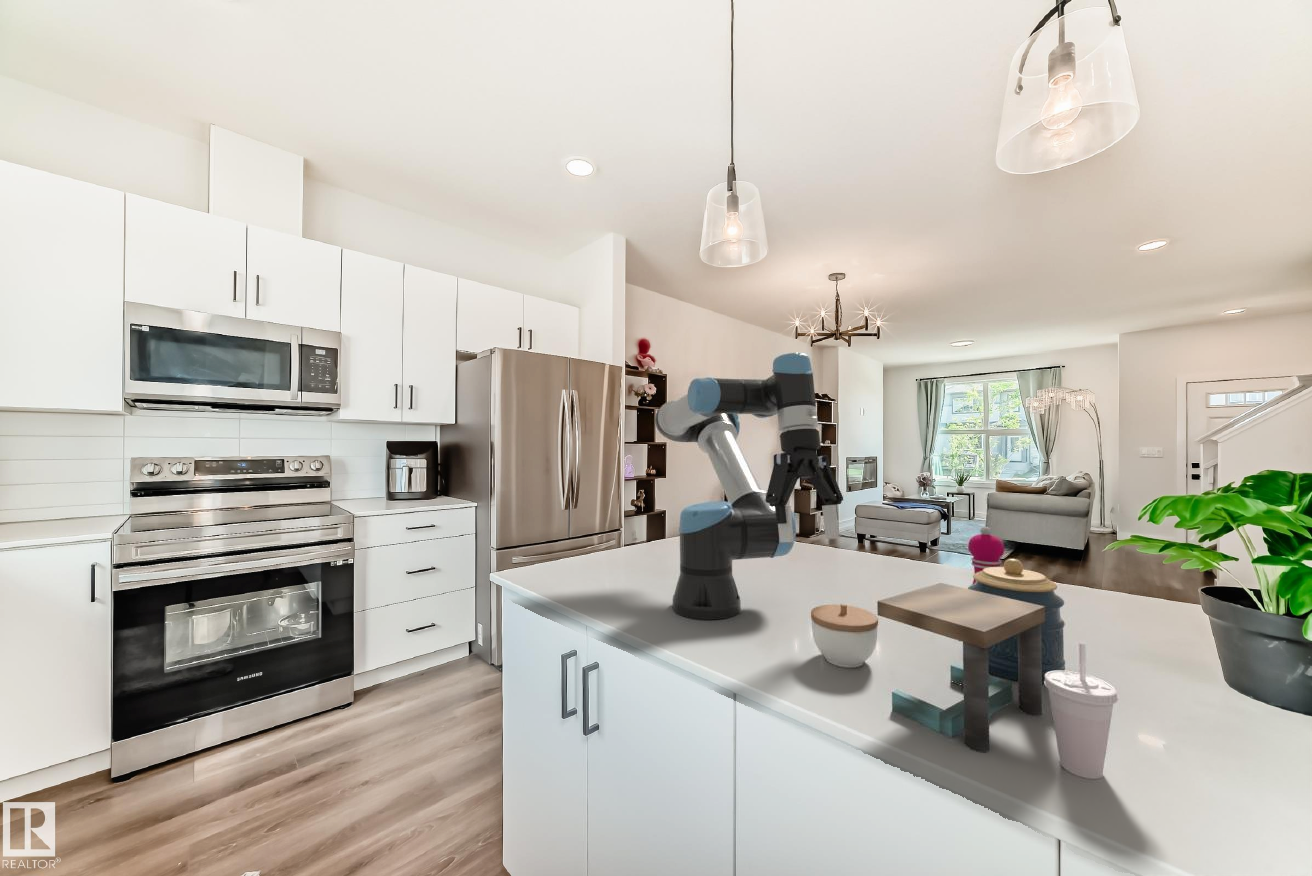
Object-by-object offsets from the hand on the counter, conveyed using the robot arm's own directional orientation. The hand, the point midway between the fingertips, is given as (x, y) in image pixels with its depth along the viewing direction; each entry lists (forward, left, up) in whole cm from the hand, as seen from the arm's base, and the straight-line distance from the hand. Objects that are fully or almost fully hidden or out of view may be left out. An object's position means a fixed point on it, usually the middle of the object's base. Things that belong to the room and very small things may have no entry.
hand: (810, 540), depth 96 cm
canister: (+27, +18, -19) cm, 37 cm away
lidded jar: (+10, -3, -19) cm, 21 cm away
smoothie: (+43, -5, -19) cm, 47 cm away
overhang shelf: (+29, -3, -18) cm, 34 cm away
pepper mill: (+16, +33, -19) cm, 41 cm away
